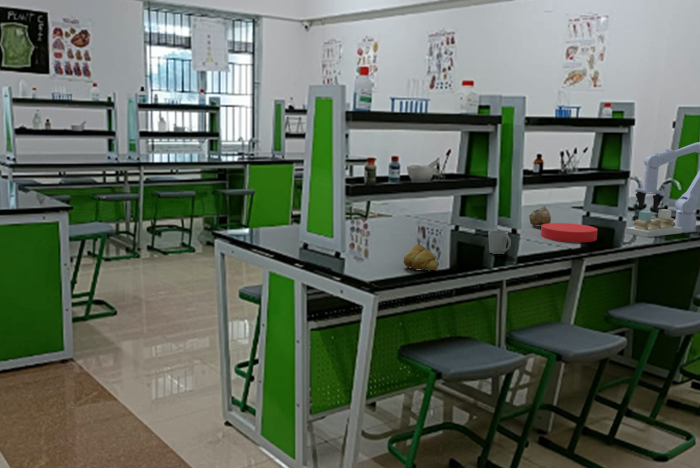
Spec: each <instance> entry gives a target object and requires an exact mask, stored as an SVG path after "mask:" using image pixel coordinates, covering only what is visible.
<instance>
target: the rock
mask: <svg viewBox="0 0 700 468" xmlns="http://www.w3.org/2000/svg"><path fill="white" fill-rule="evenodd" d="M528 217H529V223H530V225H532V226H533V227H538V226H542V225H543V224H548V223H552V221H551V220H552V216H551V214H550V212H549V210H548V209H547V207H546V206H541V207H540V208H539V209H534V210H533V211H532V212H531V213H530V214H529V216H528Z"/></svg>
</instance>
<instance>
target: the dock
mask: <svg viewBox="0 0 700 468" xmlns="http://www.w3.org/2000/svg"><path fill="white" fill-rule="evenodd" d="M624 229H625V230H624V233H625V234H628V235H634V236H639V237H643V238H644V237H645V238H651V237H659V236H661V237H662V236H668V235H678V234H683V232H682V229H683V228H681V227H675V225H673V227H664V226H661V228H660V229H655V228H650V227H648V230H640V229H635V226H630V227H625V228H624Z"/></svg>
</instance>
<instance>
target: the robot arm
mask: <svg viewBox="0 0 700 468" xmlns="http://www.w3.org/2000/svg"><path fill="white" fill-rule="evenodd" d="M691 153H697V154H699V155H700V141H699V142H697V141H696V142H694V143H691V144H688V145H686V146H683V147H681V148H678V149H675V150H673V149H671V148H670V149H668V148H667V149H664V151H662V152H659V153H658V152H656V153H654V155H652V154H651V155H648V156H647V157H646V158H645V160H644V161H643V163H644V166H645V171H644V180H643V181H644V182H643V188H641V187H637V188H635V191H634V192H635V197H636V199H637V202H638V207H639V209H642V208H643V209H644V205H645V199H646V196H647V194H648V195H649V194H650V195H652V199H653V206H652V210H653V211H658V208H659V206H660V204H661V202H662V200H663V199H664V197H665V194H666V191H664V190H659V189H658V188H657V187H658V181H659V180H658V179H659V170H660V169H659V168H660V167H661V166H663V165H665V164H668V163H671V162H674V161H676V159H677V158H679V157H681V156H685V155H689V154H691ZM699 195H700V169H699V170H698V172H697V174H696V175H695V177H694V179H693V180H692V181H691V184H690V186H689V187H688V188H687V190H686V192H684V193H683V194H682V195H681V196H680V197H679V198H678V199H677V200H676V201H675V203H674V207H675V208H676V211H675V212H676V213H675V219H674V226H675V227H681V228H683V229H682V233H685V234H686V233H693V232H697V230H696V226H697V215H696V214H695V213H694V211H696V208H697V204H698V201H699V199H698V198H699Z"/></svg>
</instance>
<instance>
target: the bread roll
mask: <svg viewBox="0 0 700 468" xmlns="http://www.w3.org/2000/svg"><path fill="white" fill-rule="evenodd" d="M403 263H404V266H405V267H406V266H407V267H411V268H410V269H412V268H413V269H412V270H414V269H421V270H422V271H424V270H435V271H436V270H437V269H438V267H439V264H438V263H439V262H438V261H437V260H436V256H435V254H434V253H433V252H432V251H430V250H428V249H426V248H425V246H423V245H422V244H419V243H418V244H415V245H414V246H413V247H412V248H411V250H410V251H409V252H407V253H406V254H405V256H404V258H403ZM407 267H406V268H407Z"/></svg>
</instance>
